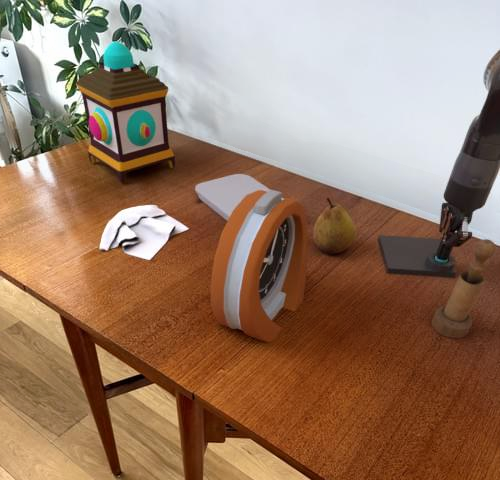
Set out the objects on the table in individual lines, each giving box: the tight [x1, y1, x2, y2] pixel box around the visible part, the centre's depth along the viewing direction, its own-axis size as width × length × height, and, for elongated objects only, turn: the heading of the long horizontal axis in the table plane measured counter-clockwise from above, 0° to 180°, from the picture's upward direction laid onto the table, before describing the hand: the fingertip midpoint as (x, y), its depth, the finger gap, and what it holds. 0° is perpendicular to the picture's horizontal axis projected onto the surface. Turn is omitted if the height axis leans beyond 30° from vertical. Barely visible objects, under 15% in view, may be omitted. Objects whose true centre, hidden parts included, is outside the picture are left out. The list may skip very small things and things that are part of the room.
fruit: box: [312, 197, 356, 255], centre depth 98 cm, size 9×9×12 cm
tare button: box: [435, 256, 448, 263], centre depth 96 cm, size 3×3×2 cm
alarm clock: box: [210, 189, 309, 343], centre depth 78 cm, size 22×10×23 cm, turn 151°
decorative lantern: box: [75, 40, 176, 184], centre depth 119 cm, size 20×20×30 cm
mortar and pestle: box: [431, 238, 497, 339], centre depth 78 cm, size 7×6×18 cm
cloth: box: [99, 204, 190, 261], centre depth 103 cm, size 20×22×2 cm
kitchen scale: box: [377, 234, 457, 279], centre depth 100 cm, size 14×13×3 cm
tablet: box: [194, 173, 284, 222], centre depth 114 cm, size 16×26×2 cm, turn 35°
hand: (441, 257), depth 96 cm, fingers closed
